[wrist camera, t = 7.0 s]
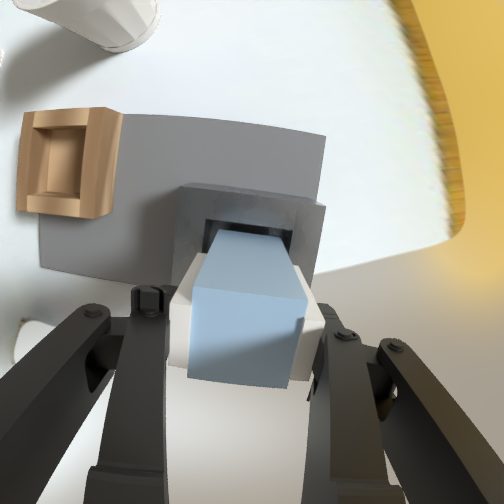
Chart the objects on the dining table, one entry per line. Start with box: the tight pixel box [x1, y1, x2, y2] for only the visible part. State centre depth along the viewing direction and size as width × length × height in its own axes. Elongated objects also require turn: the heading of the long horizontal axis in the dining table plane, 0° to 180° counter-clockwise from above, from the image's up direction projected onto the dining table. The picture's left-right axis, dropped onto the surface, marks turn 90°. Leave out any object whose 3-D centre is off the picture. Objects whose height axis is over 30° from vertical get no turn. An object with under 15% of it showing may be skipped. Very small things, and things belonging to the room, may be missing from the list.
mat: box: [39, 114, 326, 287], centre depth 24 cm, size 24×14×1 cm, turn 82°
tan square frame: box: [16, 107, 123, 219], centre depth 21 cm, size 8×8×4 cm
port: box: [171, 182, 326, 288], centre depth 22 cm, size 9×9×5 cm
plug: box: [187, 229, 308, 389], centre depth 16 cm, size 4×4×10 cm
